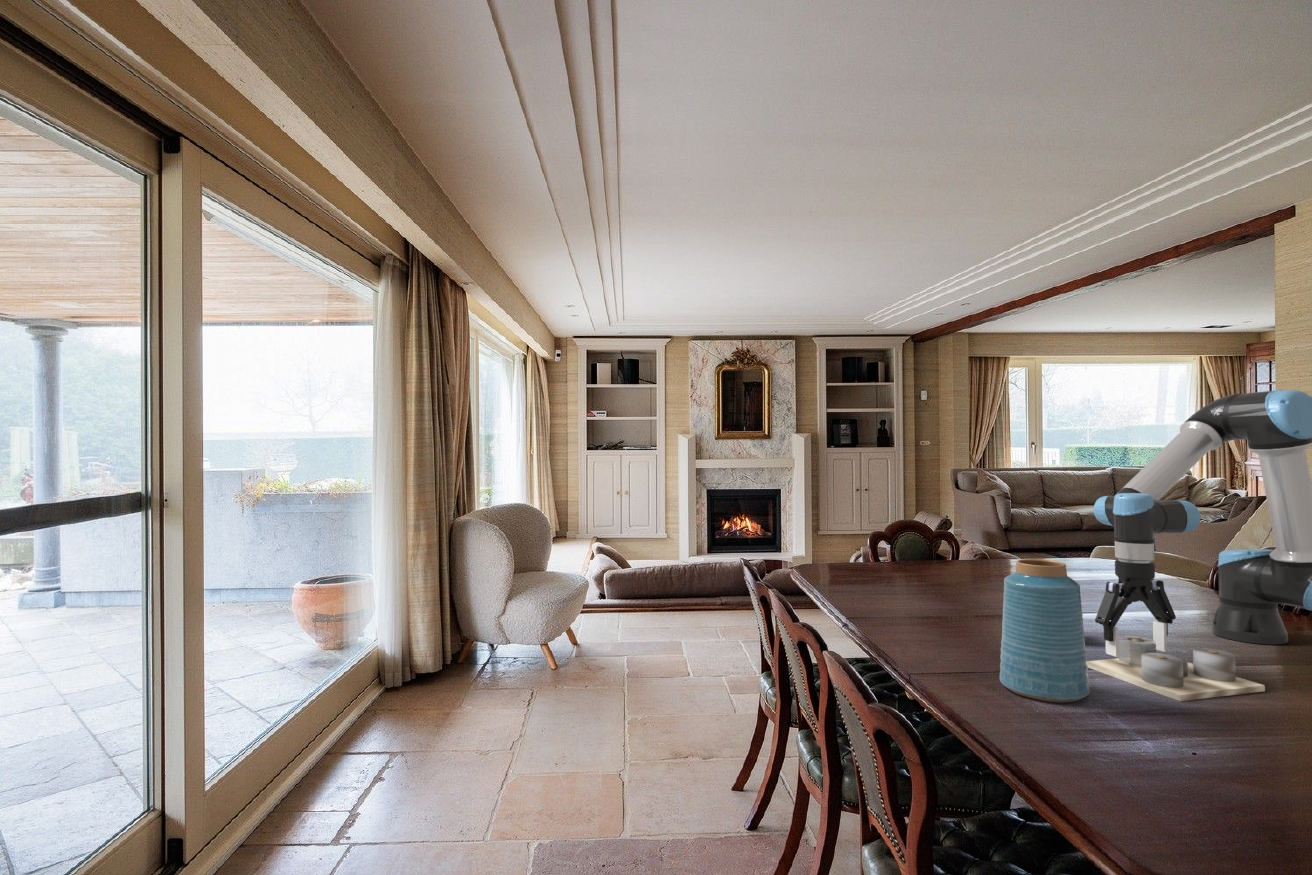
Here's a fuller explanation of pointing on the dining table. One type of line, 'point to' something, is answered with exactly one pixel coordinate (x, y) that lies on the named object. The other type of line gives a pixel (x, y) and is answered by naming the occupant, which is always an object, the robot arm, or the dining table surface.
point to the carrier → (1182, 674)
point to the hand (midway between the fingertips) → (1136, 652)
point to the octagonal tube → (1134, 649)
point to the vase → (1043, 633)
